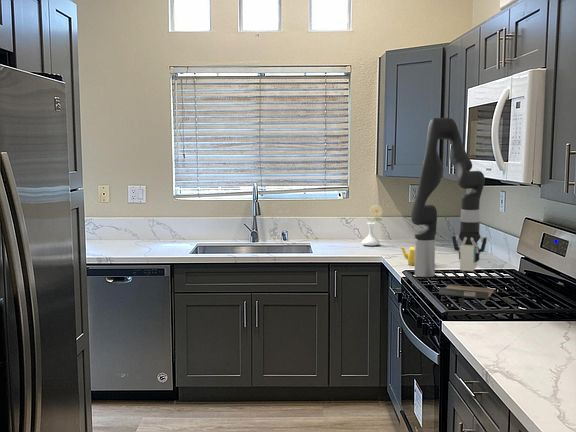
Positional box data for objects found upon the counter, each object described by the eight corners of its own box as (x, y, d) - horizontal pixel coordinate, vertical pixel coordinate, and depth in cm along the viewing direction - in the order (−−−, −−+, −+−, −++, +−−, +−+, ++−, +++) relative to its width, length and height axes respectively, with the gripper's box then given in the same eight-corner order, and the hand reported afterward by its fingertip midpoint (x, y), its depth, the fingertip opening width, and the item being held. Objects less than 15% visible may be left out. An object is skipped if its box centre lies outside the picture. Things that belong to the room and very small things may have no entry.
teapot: (417, 267, 311) (418, 248, 310) (397, 263, 322) (398, 245, 321) (438, 264, 319) (438, 245, 318) (417, 260, 330) (417, 242, 329)
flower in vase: (360, 246, 377) (360, 205, 374) (363, 243, 388) (363, 203, 385) (381, 247, 373) (381, 205, 370) (384, 244, 384) (384, 204, 381)
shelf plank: (448, 288, 265) (448, 279, 265) (495, 292, 257) (495, 282, 256) (438, 297, 249) (439, 288, 249) (488, 302, 241) (488, 292, 240)
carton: (459, 270, 251) (460, 245, 250) (464, 265, 260) (465, 241, 258) (473, 271, 248) (473, 246, 247) (477, 266, 257) (478, 242, 256)
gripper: (489, 220, 252) (488, 261, 254) (454, 218, 258) (453, 258, 260) (486, 222, 245) (485, 264, 247) (450, 220, 252) (449, 261, 254)
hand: (469, 261), depth 254 cm, fingers closed on carton, 5 cm apart
